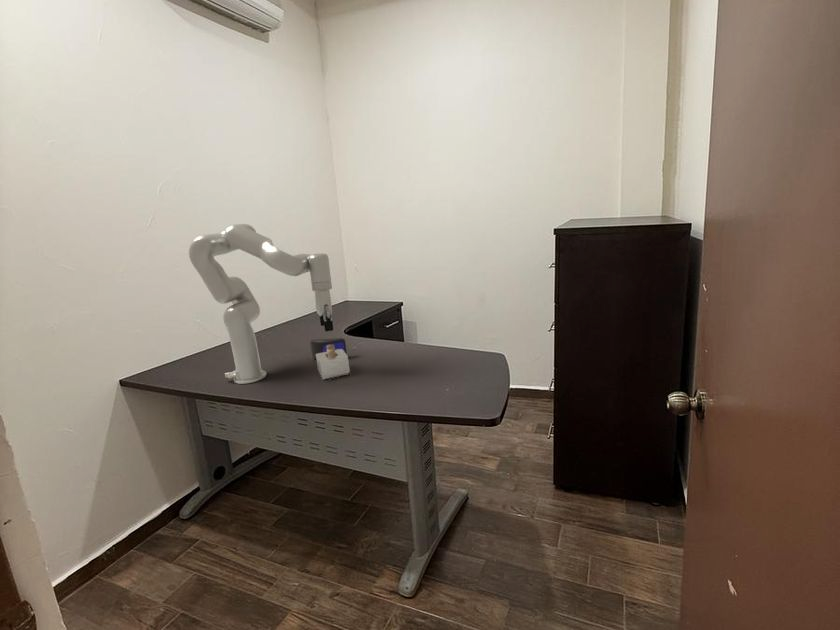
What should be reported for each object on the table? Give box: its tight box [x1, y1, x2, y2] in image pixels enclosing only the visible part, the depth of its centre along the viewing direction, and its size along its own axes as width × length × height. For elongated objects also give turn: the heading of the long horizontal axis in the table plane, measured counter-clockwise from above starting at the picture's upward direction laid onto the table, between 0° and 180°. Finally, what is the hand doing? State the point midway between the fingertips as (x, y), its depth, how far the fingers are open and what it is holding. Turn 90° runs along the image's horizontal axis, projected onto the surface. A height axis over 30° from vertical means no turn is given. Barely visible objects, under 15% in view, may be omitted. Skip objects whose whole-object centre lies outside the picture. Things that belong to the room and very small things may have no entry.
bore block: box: [316, 349, 351, 380], centre depth 169 cm, size 11×11×8 cm
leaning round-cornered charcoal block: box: [309, 337, 348, 361], centre depth 186 cm, size 16×5×9 cm, turn 84°
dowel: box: [326, 345, 336, 357], centre depth 168 cm, size 3×3×12 cm
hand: (327, 327), depth 165 cm, fingers open, 9 cm apart
